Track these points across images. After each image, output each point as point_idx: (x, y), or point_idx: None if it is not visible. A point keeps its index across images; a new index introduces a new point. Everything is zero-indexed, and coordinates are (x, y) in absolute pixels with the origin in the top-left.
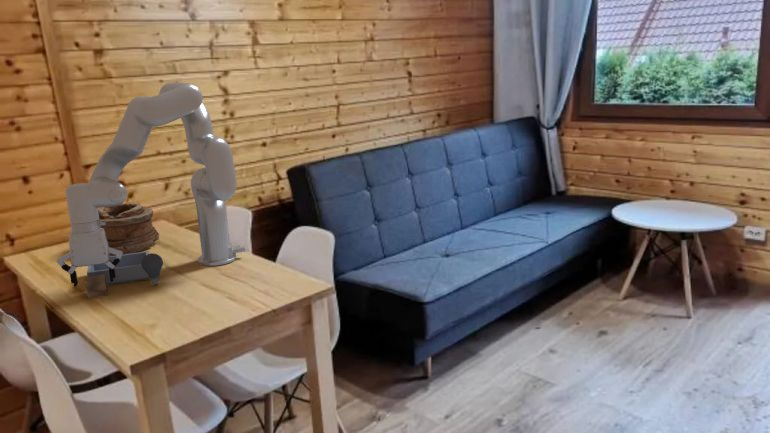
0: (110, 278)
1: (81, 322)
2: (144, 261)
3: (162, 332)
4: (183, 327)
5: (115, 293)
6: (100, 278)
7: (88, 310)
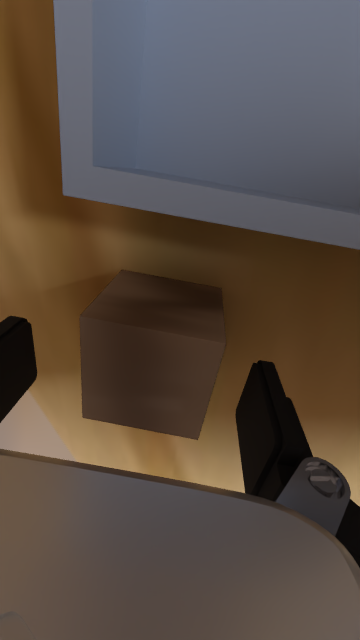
0: (240, 432)
1: None
2: None
3: None
4: None
5: (243, 365)
6: (179, 403)
7: (122, 453)
